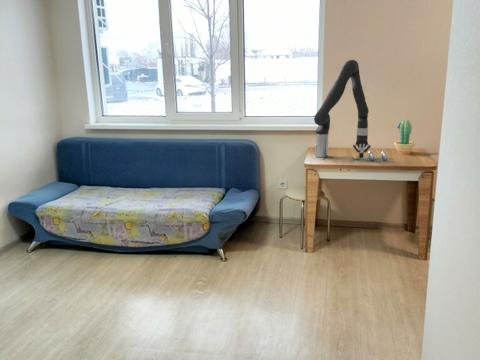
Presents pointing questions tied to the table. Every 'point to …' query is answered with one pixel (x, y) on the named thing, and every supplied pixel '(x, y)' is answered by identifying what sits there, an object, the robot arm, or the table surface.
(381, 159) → the mat
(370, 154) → the cylinder
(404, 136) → the potted cactus
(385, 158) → the cylinder
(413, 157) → the table surface
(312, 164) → the table surface
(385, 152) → the spacer back right
